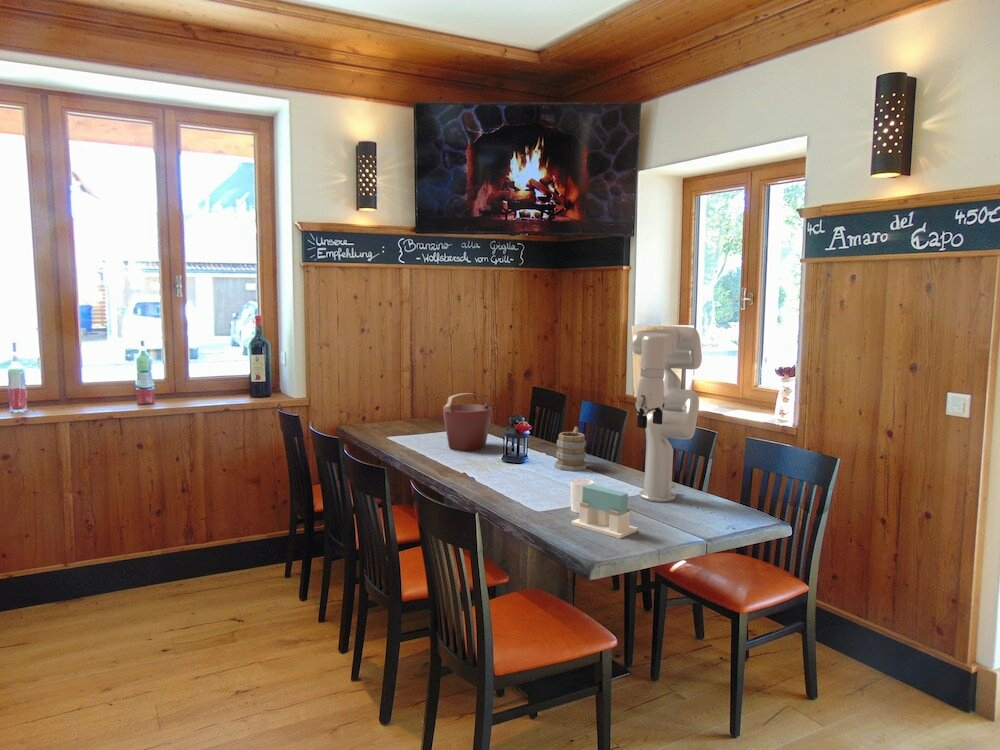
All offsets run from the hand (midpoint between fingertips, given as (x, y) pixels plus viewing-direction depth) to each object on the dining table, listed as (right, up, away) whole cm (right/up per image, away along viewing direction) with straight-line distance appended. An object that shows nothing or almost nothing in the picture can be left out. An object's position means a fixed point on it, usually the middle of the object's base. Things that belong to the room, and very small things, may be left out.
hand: (649, 425), depth 236 cm
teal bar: (-16, -25, -10) cm, 31 cm away
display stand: (-16, -31, -9) cm, 36 cm away
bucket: (-65, -17, +98) cm, 119 cm away
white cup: (-21, -29, +7) cm, 37 cm away
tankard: (-18, -22, +69) cm, 75 cm away
